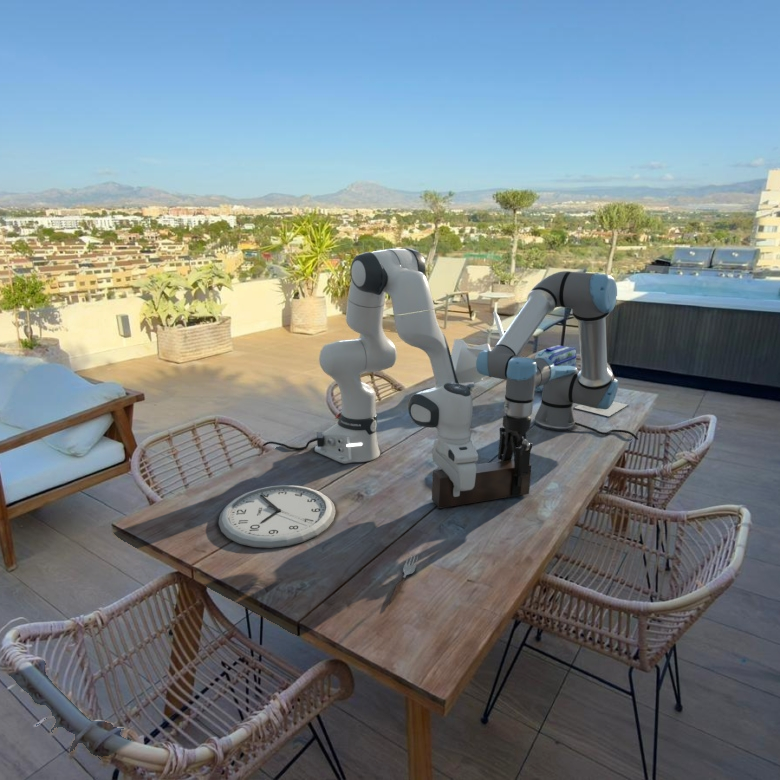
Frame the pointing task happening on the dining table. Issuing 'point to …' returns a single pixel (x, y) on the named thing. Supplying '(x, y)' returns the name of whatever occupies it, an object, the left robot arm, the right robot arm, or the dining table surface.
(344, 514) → the dining table surface
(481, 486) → the walnut beam
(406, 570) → the fork
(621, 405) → the invitation card
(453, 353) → the white plastic object
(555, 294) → the right robot arm
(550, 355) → the lunch box
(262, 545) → the wall clock
